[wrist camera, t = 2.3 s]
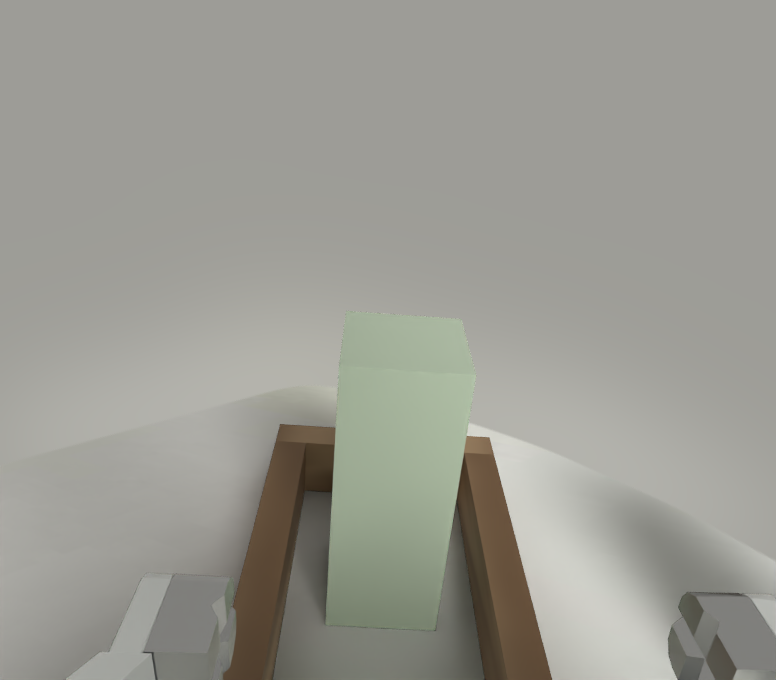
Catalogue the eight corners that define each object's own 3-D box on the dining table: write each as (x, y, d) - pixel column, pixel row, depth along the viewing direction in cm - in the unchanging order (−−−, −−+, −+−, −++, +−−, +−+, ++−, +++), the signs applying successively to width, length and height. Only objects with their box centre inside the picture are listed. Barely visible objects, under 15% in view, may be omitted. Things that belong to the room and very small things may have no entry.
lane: (193, 839, 19) (187, 778, 18) (280, 470, 35) (280, 424, 33) (560, 852, 19) (581, 794, 18) (481, 482, 35) (489, 437, 34)
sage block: (325, 625, 26) (339, 365, 21) (333, 544, 30) (346, 310, 25) (435, 630, 26) (476, 375, 21) (428, 550, 30) (461, 319, 25)
